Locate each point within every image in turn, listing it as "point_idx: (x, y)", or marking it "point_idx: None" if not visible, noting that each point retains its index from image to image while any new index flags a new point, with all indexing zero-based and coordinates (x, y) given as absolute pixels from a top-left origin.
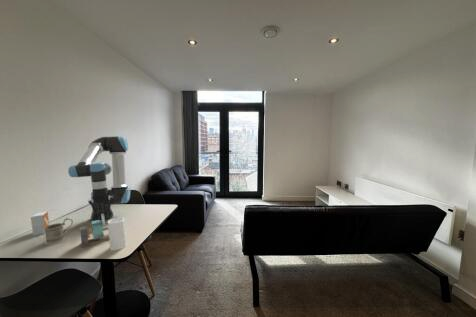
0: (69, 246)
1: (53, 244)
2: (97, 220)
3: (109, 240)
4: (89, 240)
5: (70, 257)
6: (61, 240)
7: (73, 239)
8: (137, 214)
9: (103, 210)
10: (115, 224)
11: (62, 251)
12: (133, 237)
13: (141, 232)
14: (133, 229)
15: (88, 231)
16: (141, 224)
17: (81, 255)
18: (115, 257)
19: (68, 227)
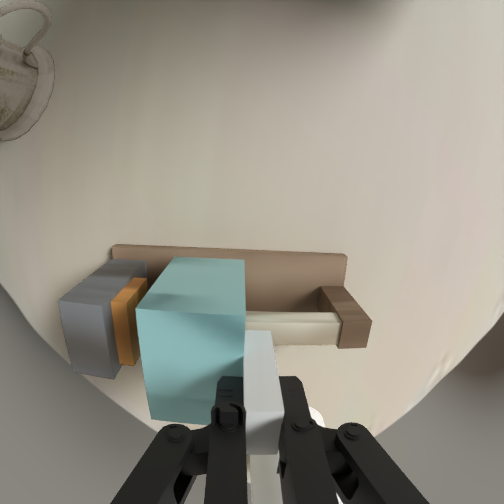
0: (61, 239)
1: (5, 140)
2: (203, 330)
3: (250, 466)
4: (156, 270)
5: (86, 377)
6: (28, 120)
7: (79, 133)
8: (497, 33)
9: (284, 495)
10: None
11: (41, 281)
12: (379, 384)
13: (432, 350)
14: (431, 273)
15: (131, 362)
16: (484, 228)
17: (128, 396)
18: (250, 482)
19: (36, 40)
